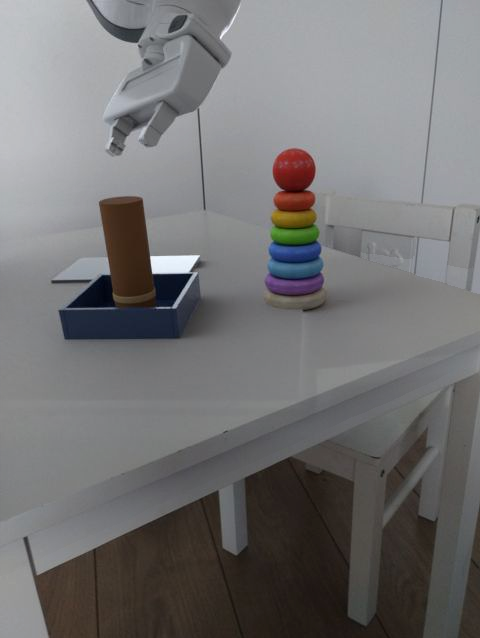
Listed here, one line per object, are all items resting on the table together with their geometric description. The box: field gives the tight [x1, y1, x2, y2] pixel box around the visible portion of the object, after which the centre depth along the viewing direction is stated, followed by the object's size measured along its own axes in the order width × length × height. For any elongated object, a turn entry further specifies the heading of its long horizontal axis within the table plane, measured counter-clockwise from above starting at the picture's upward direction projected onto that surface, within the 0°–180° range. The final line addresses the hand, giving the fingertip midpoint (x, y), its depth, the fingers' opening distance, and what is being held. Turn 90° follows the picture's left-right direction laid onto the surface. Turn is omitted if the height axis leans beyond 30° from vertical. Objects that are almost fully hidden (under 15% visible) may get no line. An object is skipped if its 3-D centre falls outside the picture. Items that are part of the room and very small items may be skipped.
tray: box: [58, 271, 202, 341], centre depth 69 cm, size 13×13×4 cm
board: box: [50, 254, 202, 284], centre depth 88 cm, size 20×12×1 cm, turn 85°
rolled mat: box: [98, 195, 157, 308], centre depth 66 cm, size 5×5×14 cm
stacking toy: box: [263, 147, 327, 311], centre depth 69 cm, size 8×8×19 cm
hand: (127, 149), depth 69 cm, fingers open, 8 cm apart
